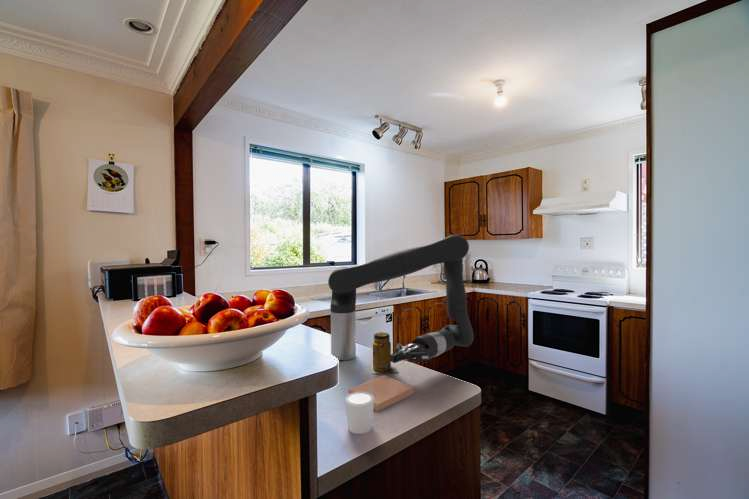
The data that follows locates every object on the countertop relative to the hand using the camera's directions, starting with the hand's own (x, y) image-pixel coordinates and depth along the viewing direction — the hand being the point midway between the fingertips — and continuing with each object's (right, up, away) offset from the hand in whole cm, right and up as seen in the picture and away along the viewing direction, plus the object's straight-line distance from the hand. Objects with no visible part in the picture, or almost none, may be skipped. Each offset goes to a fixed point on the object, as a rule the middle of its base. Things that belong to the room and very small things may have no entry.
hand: (392, 359), depth 99 cm
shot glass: (-9, -10, -19) cm, 23 cm away
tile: (+2, -8, +2) cm, 9 cm away
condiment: (-2, -9, +15) cm, 18 cm away
